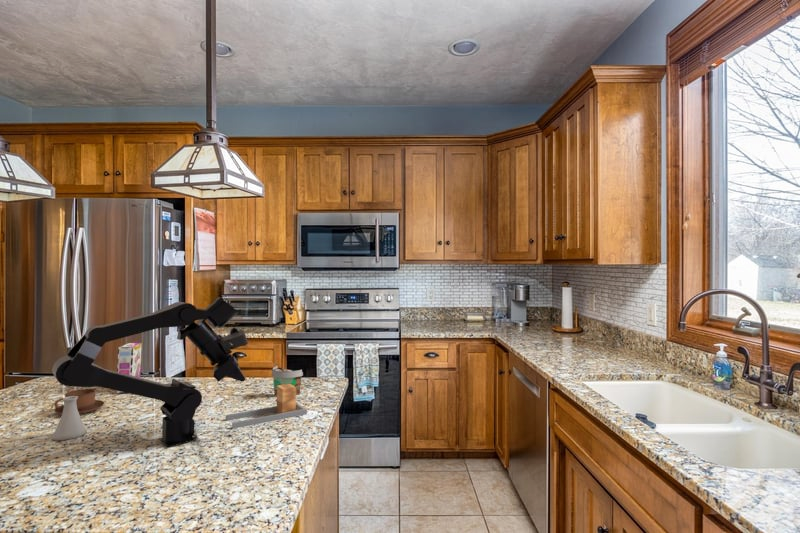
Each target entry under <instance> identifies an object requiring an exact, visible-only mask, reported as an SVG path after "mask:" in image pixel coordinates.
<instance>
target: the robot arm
mask: <svg viewBox="0 0 800 533" xmlns="http://www.w3.org/2000/svg"><path fill="white" fill-rule="evenodd" d="M237 314H238V312H237V311H236V309H235V308H234V306H233V305H231V304H230V303H228V302H227V301H226V300H225V299H224V298H223V297H220V296H218V297H217V298H216V299H214V300H213V302H212V303H210V304H209V305H208V306H206V308H199V307H198V308H197V307H196V306H195V305H194V304H192V303H189V302H182V301H177V302H174V303H171V304H168V305H167V306H164V307H162V308H160V309H158V310H156V311H153V312H151V313H147V314H143V315H139V316H135V317H131V318H127V319H123V320H122V319H121V320H118V321H115V322H110V323H106V324H102V325H94V326H90V327H88V329H86V331H85V333H84V334H83V335H82V336H81V338H80V339H79V340H78V341H77V342H76V343H75V344H74V345H73V346H72V347H71V348H70V349H69V351H68V352H67V354H65V355H64V356H62V357H60V358H58V359H56V361H55V362H54V363H53V366H52V374H53V377H54V378H55V379H56V380H57V382H58V383H59V384H61V385H62V386H65V387H73V388H75V387H77V388H79V387H80V388H95V387H99V388H105V389H109V390H114V391H116V390H117V391H121V392H126V393H125V394H131V395H136V396H139V397H143V398H149V399H153V400H158V401H161V402H163V404H162V405H161V406H160V411H161V413H162V415H163V417H162V424H161V427H162V428H161V431H162V432H161V437H159V441H160V442H161V443H162V444H163V445H164V446H165V447H166V448H170V447H174V446H177V445H182V444H185V443H189V442H193V441H195V440H196V439H195V437H194V436H195V425H196V423H195V419H194V416H195V414H196V412H197V409H198V408H199V406H200V405H201V403H202V402H203V401H202V400H203V395H202V393H201V391H200V390H198V389H197V386H196V385H194V384H192V383H190V382H188V381H180V380H178V379H175V378H172V380H171V383H161V382H159V381H154V380H150V379H147V378H142V377H140V378H139V377H135V376H131V375H127V374H123V373H119V372H117V371H114V370H110V369H105V368H103V367H102V366H100V365H98V364H95V363H94V362H95V360H96V358H97V356H98V355H99V353H100V352H101V350H102V348H103V346H104V345H105V344H106V343H108V342H113V341H115V340H119V339H123V338H127V337H131V336H135V335H138V334H141V333H146V332H149V331H153V330H156V329H162V328H163V329H164V328H176V327H177V328H178V327H184V328H183V329H181V328H178V329H177V336H176V339H177V340H180V341H182V340H184V339H185V338H187V339H188V340H189V341H190V342H191V343H192V344H193V345H194V346H195V347H196V348H197V349H198V350H199V354H200V355H201V356H204V357H205V358H207V359H208V360H209V364H210V365H211V367H213V371H212V373H213V374H212V376H213V378H214V379H215V380H216V381H217V382H220V381H222V380H223V379H224V378H226V377H227V378H230V379H232V380H236V381H239V382H241V383H243V382H245V381H246V377H245V375H244V373H243V371H242V370H241V368H240V366H239V365H240V364H239V357H238V353H237V352H234V353H233V354H232V352H233V350H235V349H237V348H240V347H244V346H246V345H248V344H249V341H248V338H247V336H246V333H245V330H244V329H242V328H241V329H239V328H238V327H237V326H234V327H231V328H230V332H229V334H228V333H227V335H225V336H222V335H221V334H220V333H216V332H215V330H213V329H216V328H218V329H222V328H223V327H224V326H225V325H226V324H227V323H228V322H230V321H231V320H232V319H233V318H234V317H235V316H236V315H237Z"/></svg>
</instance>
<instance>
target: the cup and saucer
mask: <svg viewBox="0 0 800 533" xmlns="http://www.w3.org/2000/svg"><path fill="white" fill-rule="evenodd" d="M69 396H78V398H77V400H76V404H77V409H78V412H79V415H80V416H81V415H85V414H88V413H89V414H90V413H92V412H95V411H97V410H100V409H101V408H102V407H103V406H104V405H105V402H104V400H99V399H96V389H94V388H81V389H75V390H71V391H67V392H66V393H65V395H64V397H61V398H58V399H57V400H56V401H55V402H54V407H55V408H54V411H55V413H56V414H57V415H60V416H62V413H63V408H64V404H62V405H58V403H59V402H61V401H63V398H65V397H69Z"/></svg>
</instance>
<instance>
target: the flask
mask: <svg viewBox="0 0 800 533" xmlns="http://www.w3.org/2000/svg"><path fill="white" fill-rule="evenodd" d="M62 398H63V400H62V402H63V405H64V408H63V413H62V415H60V419H59V421H58V424H57V426H56V429H55V430H54V433H53V435H52V437H51V440H53V441H65V440H71V439H77V438H79V437H81V436H83V435H85V434H86V433H87V429H86V426H85V423H84V422H83V420H82V417H81V415H79V412H78V409H77V404H76V400H77V398H78V396H69V397H65V396H64V397H62Z"/></svg>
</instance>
